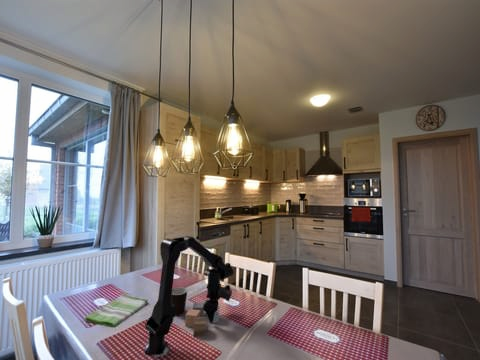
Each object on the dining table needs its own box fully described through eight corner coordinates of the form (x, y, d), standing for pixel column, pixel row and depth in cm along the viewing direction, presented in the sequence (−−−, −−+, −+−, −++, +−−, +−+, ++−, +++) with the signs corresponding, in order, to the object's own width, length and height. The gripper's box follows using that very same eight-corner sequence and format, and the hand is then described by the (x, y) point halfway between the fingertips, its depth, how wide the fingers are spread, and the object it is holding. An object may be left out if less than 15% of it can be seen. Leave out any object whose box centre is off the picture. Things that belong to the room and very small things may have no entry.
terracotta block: (196, 327, 99) (196, 316, 99) (185, 326, 100) (185, 314, 100) (200, 321, 104) (200, 310, 104) (189, 320, 105) (190, 309, 105)
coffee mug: (182, 317, 107) (182, 295, 107) (165, 315, 109) (165, 293, 109) (192, 305, 118) (192, 285, 119) (176, 303, 120) (177, 284, 120)
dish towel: (148, 303, 121) (149, 297, 121) (114, 328, 98) (115, 320, 98) (121, 299, 125) (122, 292, 125) (83, 322, 103) (83, 314, 103)
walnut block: (205, 335, 94) (206, 323, 94) (193, 336, 93) (193, 324, 93) (205, 328, 99) (206, 316, 99) (194, 329, 98) (194, 317, 98)
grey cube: (217, 323, 103) (217, 311, 103) (206, 322, 103) (207, 311, 104) (219, 317, 108) (219, 306, 108) (208, 316, 108) (208, 305, 109)
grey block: (203, 318, 107) (203, 307, 107) (192, 318, 106) (192, 307, 107) (204, 312, 112) (204, 302, 112) (193, 313, 111) (194, 302, 112)
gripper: (229, 291, 97) (228, 329, 96) (232, 275, 116) (231, 307, 115) (203, 290, 97) (202, 328, 97) (210, 275, 116) (209, 306, 115)
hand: (213, 316), depth 106 cm, fingers open, 9 cm apart
